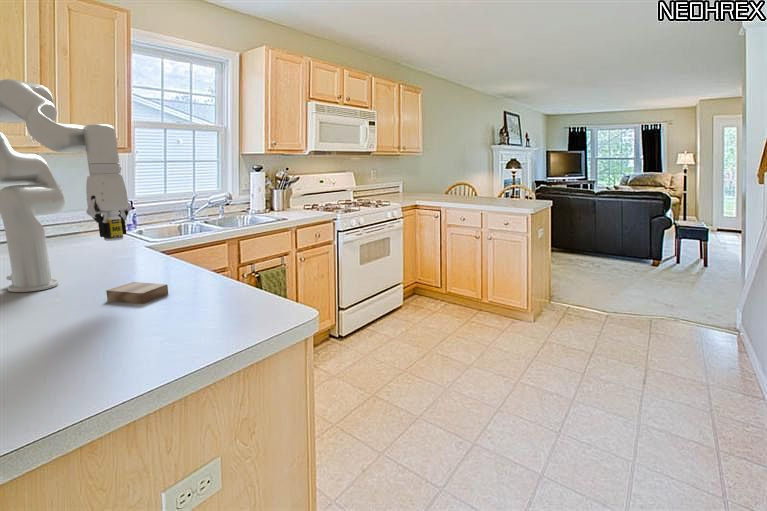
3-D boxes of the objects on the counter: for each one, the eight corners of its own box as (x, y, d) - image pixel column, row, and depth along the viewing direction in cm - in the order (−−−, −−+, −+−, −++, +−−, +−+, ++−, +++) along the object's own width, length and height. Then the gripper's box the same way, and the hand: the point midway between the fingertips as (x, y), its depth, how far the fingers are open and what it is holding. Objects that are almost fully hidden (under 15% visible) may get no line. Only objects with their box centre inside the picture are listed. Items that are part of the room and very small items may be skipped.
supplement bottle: (114, 241, 129) (110, 211, 127) (100, 240, 130) (96, 211, 128) (127, 238, 133) (123, 209, 132) (113, 238, 134) (109, 209, 133)
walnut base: (107, 300, 130) (106, 290, 129) (134, 291, 139) (133, 281, 139) (143, 303, 127) (142, 293, 126) (168, 294, 136) (167, 284, 136)
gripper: (118, 170, 137) (126, 231, 140) (66, 171, 121) (76, 239, 124) (139, 170, 135) (146, 231, 138) (89, 170, 119) (99, 240, 122)
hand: (113, 234), depth 131 cm, fingers closed on supplement bottle, 4 cm apart
